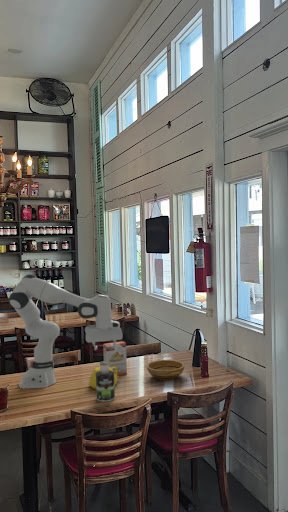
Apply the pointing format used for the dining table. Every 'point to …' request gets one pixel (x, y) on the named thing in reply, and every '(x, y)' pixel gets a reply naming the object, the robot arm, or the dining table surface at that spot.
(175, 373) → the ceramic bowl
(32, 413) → the dining table surface
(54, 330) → the robot arm
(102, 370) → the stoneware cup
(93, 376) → the teapot
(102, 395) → the coffee can
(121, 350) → the cracker box
